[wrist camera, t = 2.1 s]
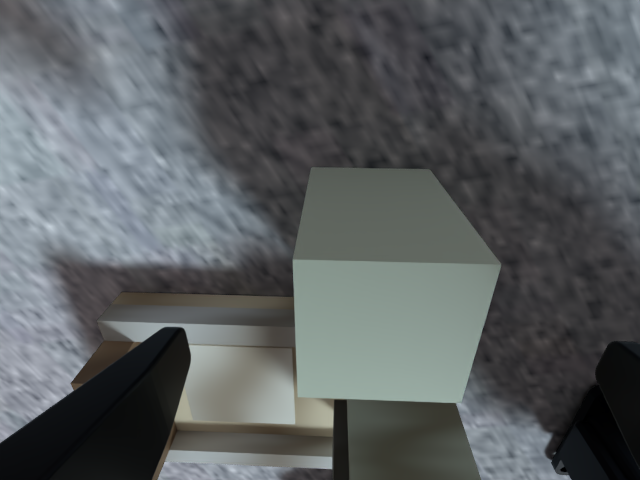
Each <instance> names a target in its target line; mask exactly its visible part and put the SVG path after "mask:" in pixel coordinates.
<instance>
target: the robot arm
mask: <svg viewBox="0 0 640 480" xmlns="http://www.w3.org/2000/svg"><path fill="white" fill-rule="evenodd" d="M190 364H191V352H190V348H189V344H188V339H187V335H186V331H185V330H184V328H182V327H163V328H162V329H160V330H159V331H157V332H156V333H154V334H153V335H152V336H150V337H149V338H147V339H146V340H145V341H143V342H142V343H140V344H139V345H138V346H136V347H135V348H133V349H132V350H130V351H129V352H128V353H126V354H125V355H123V356H122V357H121V358H119V359H118V360H116V361H115V362H114V363H112V364H111V365H109V366H108V367H107V368H105V369H104V370H102V371H101V372H100V373H98V374H97V375H95V376H94V377H93V378H91V379H90V380H88V381H87V382H85V383H84V384H83V385H81V386H80V387H78V388H77V389H76V390H74V391H73V392H71V393H70V394H69V395H67V396H66V397H64V398H63V399H62V400H60V401H59V402H57V403H56V404H55V405H53V406H52V407H50V408H49V409H47V410H46V411H45V412H43V413H42V414H40V415H39V416H38V417H36V418H35V419H33V420H32V421H31V422H29V423H28V424H26V425H25V426H24V427H22V428H21V429H19V430H18V431H17V432H15V433H14V434H12V435H11V436H10V437H8V438H7V439H5V440H4V441H2V442H1V443H0V480H152V479H153V476H154V474H155V471H156V469H157V466H158V464H159V461H160V459H161V456H162V454H163V451H164V449H165V446H166V444H167V441H168V438H169V436H170V433H171V430H172V426H173V423H174V420H175V416H176V413H177V409H178V406H179V402H180V399H181V396H182V392H183V389H184V385H185V382H186V378H187V375H188V371H189V368H190ZM595 375H596V380H597V382H598V384H599V385H597V386H595V387H593V388H592V389H591V390H590V391H589V393H588V394H587V396H586V398H585V400H584V402H583V404H582V406H581V407H580V409H579V411H578V413H577V415H576V417H575V419H574V421H573V422H572V424H571V426H570V428H569V430H568V432H567V434H566V435H565V437H564V439H563V441H562V443H561V445H560V447H559V449H558V450H557V452H556V454H555V456H554V458H553V460H552V462H551V464H552V466H553V468H554V470H555V471H556V473H557V474H560V475H569V476H570V478H571V479H572V480H640V344H638V343H635V342H626V341H614V342H611V343H610V344H609V345H608V346H607V348H606V350H605V352H604V354H603V355H602V357H601V359H600V361H599V363H598V365H597V367H596V371H595Z"/></svg>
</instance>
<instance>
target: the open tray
mask: <svg viewBox="0 0 640 480" xmlns="http://www.w3.org/2000/svg"><path fill="white" fill-rule="evenodd" d="M97 324H98V326H99V329H100V331H101V334H102V337H103V339H104V341H103V343H102V344H101V345H100V347H99V348H98V349H97V350H96V352H95V353H94V354H93V355H92V357H91V358H90V359H89V361H88V362H87V363H86V364H85V366H84V367H83V368H82V369H81V371H80V372H79V373H78V375H77V376H76V377H75V378H74V380H73V381H72V382H71V385H72V387H73V389H74V390H76V389H77V388H78V387H80V386H81V385H83V384H84V383H85V382H87V381H88V380H90V379H91V378H93V377H94V376H95V375H97V374H98V373H100V372H101V371H102V370H104V369H105V368H107V367H108V366H109V365H111V364H112V363H114V362H115V361H116V360H118V359H119V358H121V357H122V356H123V355H125V354H126V353H128V352H129V351H130V350H132V349H133V348H135V347H136V346H138V345H139V344H140V343H142V342H143V341H145V340H146V339H147V338H149V337H150V336H152V335H153V334H154V333H156V332H157V331H159V330H160V329H162V328H163V327H182V328H184V330H185V331H186V335H187V339H188V344H189V348H190V352H191V364H190V368H189V371H188V375H187V378H186V382H185V385H184V389H183V392H182V396H181V399H180V402H179V406H178V409H177V413H176V416H175V420H174V423H173V426H172V430H171V433H170V436H169V438H168V441H167V444H166V446H165V449H164V451H163V454H162V456H161V459H160V461H159V464H158V466H157V469H156V471H155V474H154V476H153V479H152V480H157V479H158V477H159V474H160V472H161V469H162V467H163V464H164V462H182V463H205V464H228V465H250V466H273V467H295V468H318V469H332V480H481V478H480V475H479V472H478V469H477V466H476V463H475V460H474V457H473V454H472V451H471V448H470V445H469V442H468V439H467V436H466V433H465V430H464V427H463V424H462V421H461V418H460V415H459V412H458V409H457V406H456V403H441V402H414V401H387V400H360V399H333V398H306V397H298V393H297V366H296V338H295V311H294V297H276V296H241V295H207V294H172V293H138V292H121V293H120V295H119V296H118V297H117V298H116V299H115V300H114V301H113V303H112V304H111V305H110V306H109V307H108V308H107V310H106V311H105V312H104V313H103V314H102V315H101V316H100V318H99V319H98V320H97Z"/></svg>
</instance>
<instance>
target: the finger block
mask: <svg viewBox="0 0 640 480" xmlns="http://www.w3.org/2000/svg"><path fill="white" fill-rule="evenodd" d="M501 265H502V264H501V263H500V262H499V260H498V259H497V258H496V256H495V255H494V254H493V253H492V251H491V250H490V249H489V247H488V246H487V245H486V243H485V242H484V241H483V239H482V238H481V237H480V235H479V234H478V233H477V231H476V230H475V229H474V227H473V226H472V225H471V223H470V222H469V221H468V219H467V218H466V217H465V215H464V214H463V213H462V211H461V210H460V209H459V207H458V206H457V205H456V204H455V202H454V201H453V200H452V198H451V197H450V196H449V194H448V193H447V192H446V190H445V189H444V188H443V186H442V185H441V184H440V182H439V181H438V180H437V178H436V177H435V176H434V174H433V173H432V172H431V170H430V169H390V168H331V167H311V170H310V175H309V180H308V185H307V190H306V195H305V200H304V205H303V210H302V215H301V220H300V225H299V230H298V235H297V240H296V245H295V250H294V255H293V284H294V311H295V338H296V366H297V393H298V397H306V398H333V399H360V400H387V401H414V402H441V403H461V402H462V398H463V395H464V392H465V388H466V385H467V381H468V378H469V375H470V371H471V368H472V364H473V361H474V357H475V354H476V351H477V347H478V344H479V340H480V337H481V334H482V330H483V327H484V323H485V320H486V317H487V313H488V310H489V306H490V303H491V299H492V296H493V293H494V289H495V286H496V282H497V279H498V276H499V272H500V269H501Z"/></svg>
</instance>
